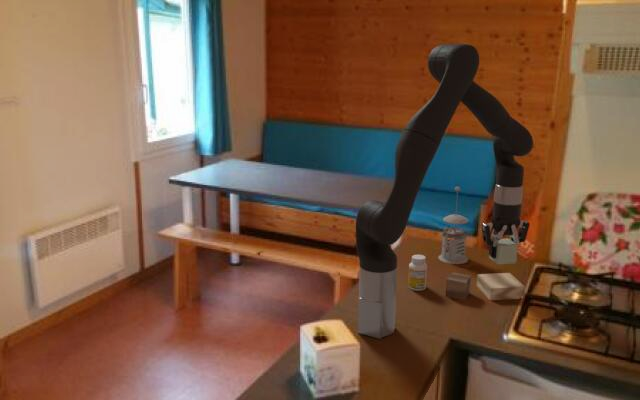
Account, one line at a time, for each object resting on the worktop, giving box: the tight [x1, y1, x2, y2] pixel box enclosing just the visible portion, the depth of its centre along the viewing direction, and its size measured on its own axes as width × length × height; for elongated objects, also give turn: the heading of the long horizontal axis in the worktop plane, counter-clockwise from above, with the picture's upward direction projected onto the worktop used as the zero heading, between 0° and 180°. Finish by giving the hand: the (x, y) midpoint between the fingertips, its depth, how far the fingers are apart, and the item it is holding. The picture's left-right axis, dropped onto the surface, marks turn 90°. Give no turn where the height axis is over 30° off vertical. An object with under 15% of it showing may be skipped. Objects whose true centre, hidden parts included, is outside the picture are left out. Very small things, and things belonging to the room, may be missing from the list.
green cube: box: [488, 237, 519, 265], centre depth 163 cm, size 6×6×6 cm
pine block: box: [476, 272, 526, 301], centre depth 166 cm, size 10×10×4 cm
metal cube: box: [445, 271, 472, 301], centre depth 164 cm, size 6×6×6 cm
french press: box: [437, 186, 469, 265], centre depth 187 cm, size 10×12×25 cm
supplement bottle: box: [407, 254, 428, 292], centre depth 168 cm, size 5×5×10 cm
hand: (502, 256), depth 163 cm, fingers closed on green cube, 5 cm apart
